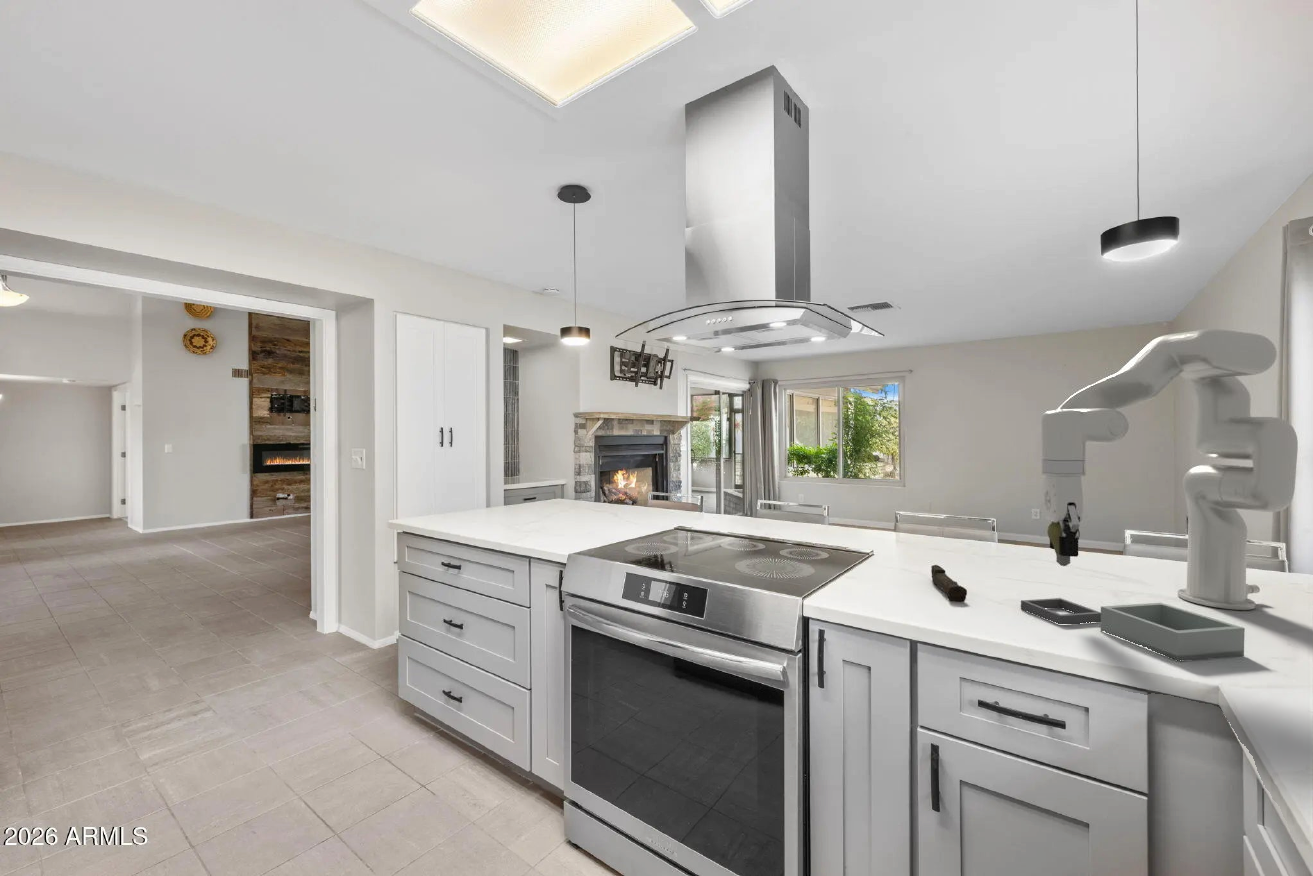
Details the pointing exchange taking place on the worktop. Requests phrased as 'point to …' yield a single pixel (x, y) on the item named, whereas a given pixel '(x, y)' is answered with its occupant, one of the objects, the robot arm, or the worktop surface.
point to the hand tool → (948, 585)
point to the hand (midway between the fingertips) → (1063, 551)
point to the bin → (1173, 631)
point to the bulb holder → (1079, 617)
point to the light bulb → (1054, 537)
